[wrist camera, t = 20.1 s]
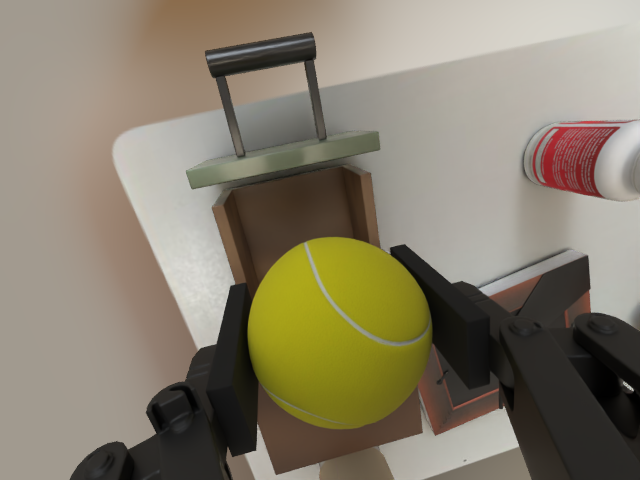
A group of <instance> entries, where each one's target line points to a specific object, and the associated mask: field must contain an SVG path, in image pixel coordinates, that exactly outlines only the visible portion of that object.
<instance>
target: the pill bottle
mask: <svg viewBox="0 0 640 480" xmlns="http://www.w3.org/2000/svg"><path fill="white" fill-rule="evenodd" d="M524 168H525V172H526V174H527V176H528V177H529V179H530V180H531V181H532V182H534V183H535V184H538V185H541V186H544V187H549V188H554V189H559V190H564V191H568V192H573V193H578V194H583V195H588V196H593V197H598V198H603V199H608V200H613V201H621V202H623V201H632V200H636V199H639V198H640V120H612V121H568V122H556V123H552V124H550V125H548V126H546V127H544V128H542V129H541V130H540V131H539V132H537V133H536V134H535V136H534V137H533V138H532V139H531V141H530V142H529V144H528V146H527V149H526V152H525V156H524Z"/></svg>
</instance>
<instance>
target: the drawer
mask: <svg viewBox="0 0 640 480" xmlns="http://www.w3.org/2000/svg"><path fill="white" fill-rule="evenodd" d="M205 56H206V60H207V64H208V67H209V70H210V73H211V75H212V77H213V78H216V81H217V85H218V89H219V92H220V96H221V100H222V104H223V107H224V111H225V115H226V118H227V122H228V126H229V130H230V133H231V137H232V141H233V144H234V148H235V152H236V155H231V156H226V157H221V158H216V159H212V160H207V161H204V162H203V163H201V164H199V165H197V166H195V167H193V168H191V169H189V170H187V171H186V174H187V177H188V180H189V183H190V186H191V188H192V189H196V188H201V187H206V186H211V185H215V184H220V183H225V182H230V181H235V180H239V179H244V178H249V177H254V176H258V175H263V174H268V173H273V172H277V171H282V170H287V169H292V168H296V167H301V166H306V165H311V164H315V163H320V162H325V161H330V160H335V159H339V158H344V157H349V156H354V155H358V154H363V153H368V152H373V151H377V150H380V141H379V133H378V132H376V131H349V132H344V133H339V134H334V135H329V136H326V130H325V124H324V118H323V113H322V107H321V101H320V95H319V89H318V83H317V77H316V71H315V66H314V60H315V59H316V46H315V40H314V36H313V34H312V32H310V33H304V34H298V35H293V36H287V37H281V38H276V39H270V40H264V41H259V42H253V43H248V44H241V45H236V46H230V47H225V48H219V49H213V50H207V51H205ZM300 62H304V65H305V70H306V76H307V82H308V87H309V93H310V98H311V104H312V109H313V115H314V121H315V126H316V132H317V137H318V138H315V139H310V140H305V141H300V142H295V143H290V144H285V145H280V146H275V147H270V148H266V149H261V150H256V151H251V152H246V153H245V150H244V146H243V143H242V139H241V135H240V131H239V127H238V123H237V120H236V116H235V112H234V108H233V104H232V100H231V97H230V93H229V89H228V85H227V81H226V78H225V76H230V75H234V74H240V73H246V72H250V71H257V70H262V69H268V68H273V67H278V66H284V65H290V64H295V63H300ZM212 210H213V213H214V217H215V220H216V223H217V226H218V229H219V232H220V236H221V239H222V242H223V245H224V248H225V251H226V255H227V258H228V261H229V264H230V267H231V271H232V274H233V277H234V280H235V283H236V285H237V284H241V283H245V282H246V283H247V286H248V289H249V293H250V296H251V299H252V302H253V299H254V296H255V294H256V291H257V289H258V287H259V285H260V283H261V282H262V280H263V278H264V277H265V275H266V274H267V272H268V271H269V270H270V268H271V267H272V266H273V265H274V264H275V263H276V262H277V261H278V260H279V259H280V258H281V257H282V256H283V255H284V254H286V253H287V252H288V251H289V250H291V249H292V248H294V247H296V246H297V245H299V244H301V243H304V242H307V241H309V240H312V239H317V238H325V237H343V238H351V239H356V240H359V241H363V242H366V243H368V244H371V245H373V246H376V247H378V248H380V242H379V234H378V226H377V218H376V211H375V203H374V195H373V187H372V179H371V173H369V172H367V171H365V170H362V169H360V168H358V167H355V166H353V165H351V164H345V165H340V166H336V167H331V168H326V169H321V170H317V171H312V172H307V173H302V174H298V175H293V176H288V177H284V178H279V179H274V180H269V181H265V182H260V183H255V184H251V185H246V186H241V187H236V188H232V189H227V190H224V191H223V192H222V194H221V195H220V196H219V198H218V199H217V201H216V202H215V203H214V205H213V206H212Z"/></svg>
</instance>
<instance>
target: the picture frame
mask: <svg viewBox="0 0 640 480" xmlns="http://www.w3.org/2000/svg"><path fill="white" fill-rule="evenodd" d="M479 290H480V291H482V292H483V294H486V295H487V296H488V297H490V299H492V300H494V301H495V302H496V303H497V304H499V305H500V306H501V307H503V308H504V309H505V310H507V311H508V312H509V313H511V314H512V315H513V316H523V317H528V318H532V319H535V320H537V321H539V322H541V323H542V324H544V325H545V326H546V327H547V328H569V327H573V325H574V319H575V318H576V317H577V315H580V314H583V313H591V309H590V294H589V290H590V274H589V260H588V255H586V254H583V253H581V252H578V251H575V250H573V249H571V250H568V251H566V252H563V253H561V254H559V255H556V256H554V257H552V258H549V259H547V260H545V261H542V262H540V263H538V264H535V265H533V266H530V267H528V268H526V269H523V270H521V271H519V272H516V273H514V274H512V275H509V276H507V277H504V278H502V279H500V280H497V281H495V282H493V283H490V284H488V285H486V286H483V287H481V288H479ZM418 391H419V398H420V401H421V404H422V407H423V410H424V412H425V415H426V418H427V421H428V424H429V425H430V427H431V429H432V431H433V433H434V435H435V436H436V435H438V434H441V433H443V432H445V431H448V430H450V429H452V428H455V427H457V426H459V425H461V424H464V423H466V422H468V421H471V420H473V419H475V418H478V417H480V416H482V415H485V414H487V413H489V412H491V411H494V410H496V409H498V408H499V379H498V378H497V377H496V376H495V375H494V374H493V373H492V372H491V371H490V384H489V385H486V386H482V387H478V388H475V389H471V390H469V389H468V388H467V387H466V386H465V384H464V383H463V382H462V380H461V379H460V378H459V376H458V375H457V374H456V373H455V371H454V370H453V369H452V367H451V366H450V365H449V364H448V362H447V361H446V360H445V358H444V357H443V356H442V354H441V353H440V352H439V351H438V349H437V348H436V347H435V345H434V344H433V343H432V345H431V351H430V355H429V359H428V362H427V365H426V368H425V371H424V373H423V375H422V377H421V379H420V381H419V383H418ZM503 406H504V403H503Z"/></svg>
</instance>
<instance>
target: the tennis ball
mask: <svg viewBox="0 0 640 480" xmlns="http://www.w3.org/2000/svg"><path fill="white" fill-rule="evenodd" d="M431 345H432V319H431V313H430V310H429V306H428V302H427V300H426V297H425V295H424V293H423V291H422V290H421V288H420V286H419V285H418V283H417V282H416V280H415V279H414V278H413V276H412V275H411V274H410V273H409V272H408V270H407V269H406V268H405V267H404V266H403V265H402V264H401V263H400V262H398V261H397V260H396V259H395V258H394V257H392V256H391V255H390V254H388V253H386V252H385V251H383V250H381V249H380V248H378V247H376V246H373V245H371V244H368V243H366V242H363V241H359V240H356V239H351V238H343V237H325V238H317V239H312V240H309V241H307V242H304V243H301V244H299V245H297V246H296V247H294V248H292V249H291V250H289V251H288V252H287V253H286V254H284V255H283V256H282V257H281V258H280V259H279V260H278V261H277V262H276V263H275V264H274V265H273V266H272V267H271V268H270V270H269V271H268V272H267V274H266V275H265V277H264V278H263V280H262V282H261V283H260V285H259V287H258V289H257V291H256V294H255V296H254V299H253V302H252V305H251V309H250V314H249V320H248V348H249V355H250V360H251V363H252V367H253V370H254V372H255V375H256V377H257V378H258V380H259V382H260V384H261V385H262V387H263V389H264V390H265V391H266V392H267V394H268V395H269V396H270V397H271V398H272V400H273V401H274V402H275V403H276V404H278V405H279V406H280V407H281V408H282V409H284V410H285V411H286V412H288V413H289V414H291V415H293V416H294V417H296V418H298V419H300V420H302V421H304V422H307V423H309V424H312V425H315V426H319V427H324V428H330V429H353V428H359V427H362V426H364V425H366V424H371V423H375V422H377V421H379V420H381V419H383V418H385V417H386V416H388V415H389V414H391V413H392V412H393V411H395V410H396V409H397V408H398V407H399V406H400V405H401V404H402V403H403V402H404V401H405V400H406V399H407V398H408V397H409V396H410V395H411V393H412V392H413V391H414V389H415V388H416V386H417V385H418V383H419V381H420V379H421V377H422V375H423V373H424V371H425V368H426V365H427V362H428V359H429V355H430V351H431Z"/></svg>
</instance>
